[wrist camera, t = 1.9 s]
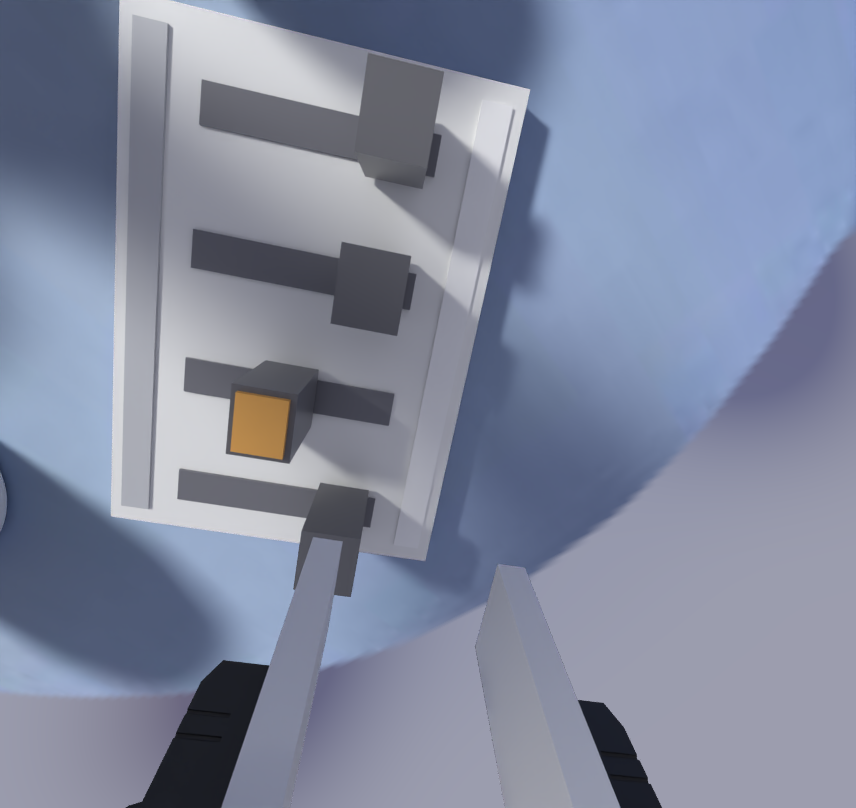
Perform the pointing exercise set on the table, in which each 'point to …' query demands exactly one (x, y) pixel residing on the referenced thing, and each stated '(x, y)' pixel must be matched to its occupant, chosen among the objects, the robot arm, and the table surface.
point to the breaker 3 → (397, 120)
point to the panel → (287, 274)
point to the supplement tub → (2, 501)
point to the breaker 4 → (370, 289)
